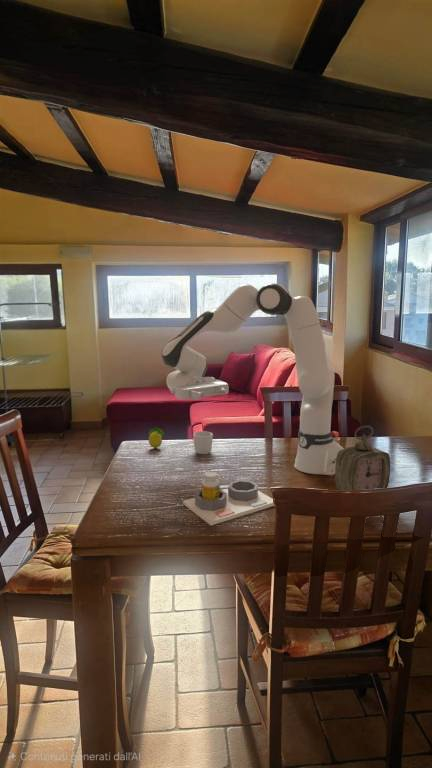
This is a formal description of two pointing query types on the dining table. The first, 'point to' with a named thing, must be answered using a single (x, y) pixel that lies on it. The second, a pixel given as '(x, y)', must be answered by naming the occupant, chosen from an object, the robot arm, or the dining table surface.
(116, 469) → the dining table surface
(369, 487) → the tabletop clock
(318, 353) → the robot arm
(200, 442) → the cup
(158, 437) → the lemon
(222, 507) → the socket board
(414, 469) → the dining table surface
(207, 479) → the supplement bottle
